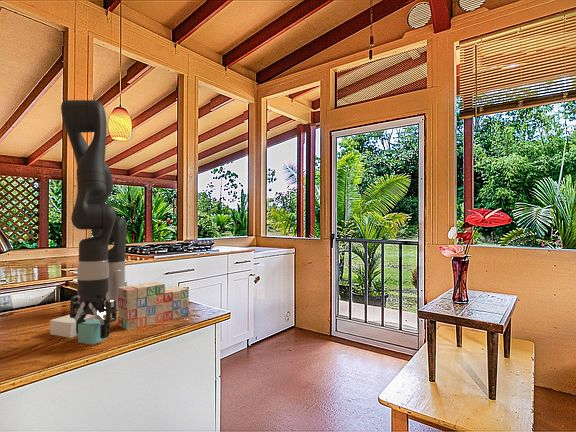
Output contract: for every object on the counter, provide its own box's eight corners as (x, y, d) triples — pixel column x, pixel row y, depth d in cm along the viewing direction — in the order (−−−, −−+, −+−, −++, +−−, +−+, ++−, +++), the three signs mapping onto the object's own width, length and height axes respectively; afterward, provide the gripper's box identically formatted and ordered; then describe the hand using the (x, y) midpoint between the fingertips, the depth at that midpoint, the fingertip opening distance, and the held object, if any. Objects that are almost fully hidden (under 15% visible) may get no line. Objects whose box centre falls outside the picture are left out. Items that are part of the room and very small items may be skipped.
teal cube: (93, 336, 98) (94, 318, 98) (107, 338, 97) (107, 320, 97) (77, 342, 94) (78, 323, 94) (91, 345, 92) (92, 326, 92)
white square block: (75, 325, 107) (75, 312, 107) (95, 329, 104) (95, 315, 104) (50, 334, 99) (50, 320, 99) (70, 337, 97) (70, 323, 97)
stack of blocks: (178, 312, 124) (179, 277, 124) (188, 315, 120) (189, 280, 120) (117, 326, 108) (117, 286, 108) (126, 330, 104) (127, 289, 103)
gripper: (124, 276, 96) (123, 334, 96) (85, 272, 101) (85, 328, 101) (101, 281, 89) (100, 344, 89) (61, 276, 94) (60, 336, 94)
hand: (92, 335), depth 95 cm, fingers open, 8 cm apart
